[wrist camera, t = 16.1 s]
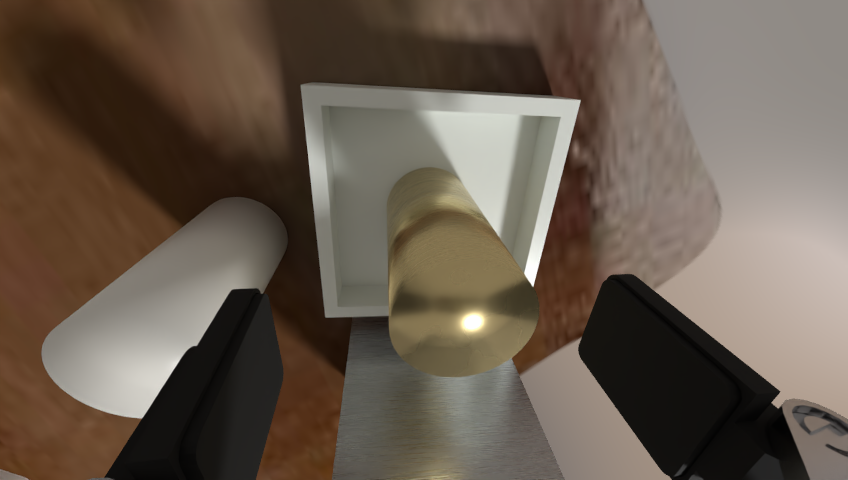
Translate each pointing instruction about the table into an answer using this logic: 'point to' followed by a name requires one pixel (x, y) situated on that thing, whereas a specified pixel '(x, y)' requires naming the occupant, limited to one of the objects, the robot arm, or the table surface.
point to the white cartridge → (163, 307)
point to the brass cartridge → (452, 280)
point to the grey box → (433, 419)
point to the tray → (418, 148)
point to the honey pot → (10, 476)
